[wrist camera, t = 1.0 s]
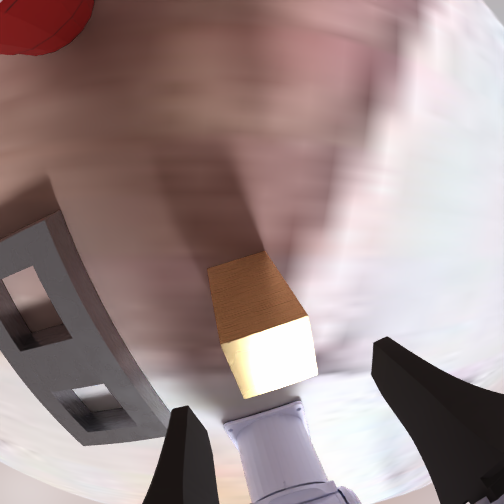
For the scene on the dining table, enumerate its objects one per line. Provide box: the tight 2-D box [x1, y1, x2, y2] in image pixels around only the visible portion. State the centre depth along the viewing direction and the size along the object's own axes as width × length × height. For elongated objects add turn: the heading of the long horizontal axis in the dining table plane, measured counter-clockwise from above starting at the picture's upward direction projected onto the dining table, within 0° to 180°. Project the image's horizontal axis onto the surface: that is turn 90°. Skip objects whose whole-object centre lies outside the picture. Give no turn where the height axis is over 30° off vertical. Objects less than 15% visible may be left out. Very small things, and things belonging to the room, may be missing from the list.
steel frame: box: [0, 210, 171, 446], centre depth 19 cm, size 20×10×2 cm, turn 14°
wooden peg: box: [207, 251, 318, 399], centre depth 17 cm, size 4×4×8 cm
